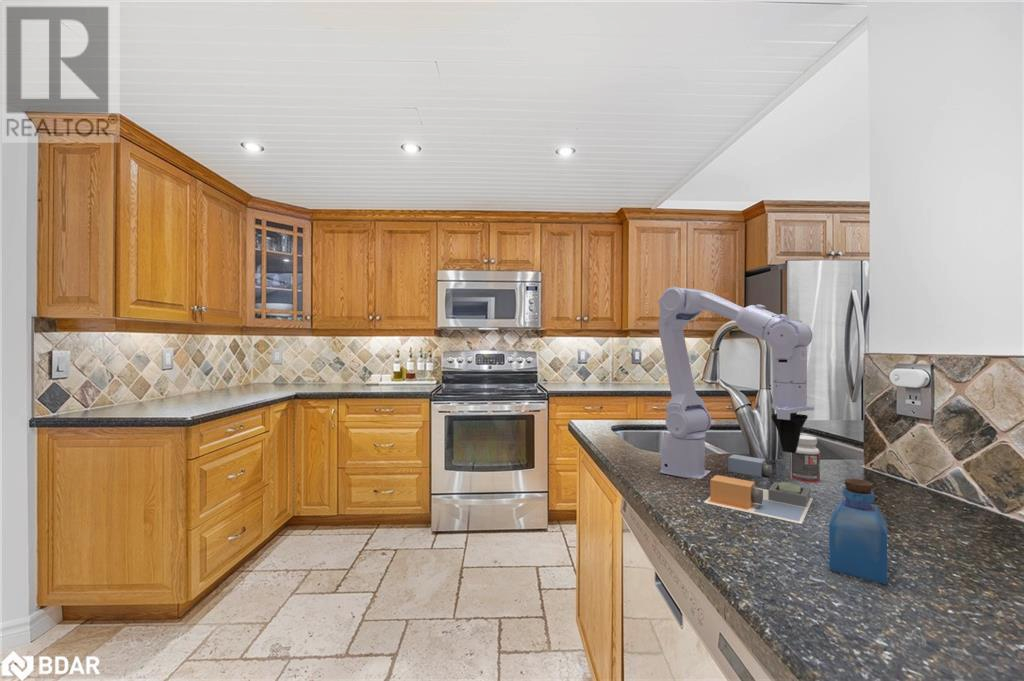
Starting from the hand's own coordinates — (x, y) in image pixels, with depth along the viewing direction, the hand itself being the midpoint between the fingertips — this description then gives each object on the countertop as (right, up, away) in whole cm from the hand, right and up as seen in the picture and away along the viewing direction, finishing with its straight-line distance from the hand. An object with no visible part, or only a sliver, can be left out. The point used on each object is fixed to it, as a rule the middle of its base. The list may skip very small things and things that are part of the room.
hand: (789, 451), depth 89 cm
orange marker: (-12, -9, -1) cm, 15 cm away
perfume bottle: (-6, -10, -26) cm, 28 cm away
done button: (0, -9, 0) cm, 9 cm away
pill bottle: (+12, -10, +13) cm, 20 cm away
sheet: (-6, -10, -1) cm, 12 cm away
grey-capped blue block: (+1, -10, +18) cm, 21 cm away
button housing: (0, -9, 0) cm, 9 cm away
